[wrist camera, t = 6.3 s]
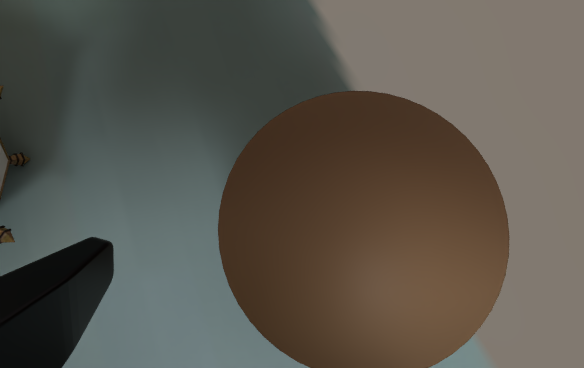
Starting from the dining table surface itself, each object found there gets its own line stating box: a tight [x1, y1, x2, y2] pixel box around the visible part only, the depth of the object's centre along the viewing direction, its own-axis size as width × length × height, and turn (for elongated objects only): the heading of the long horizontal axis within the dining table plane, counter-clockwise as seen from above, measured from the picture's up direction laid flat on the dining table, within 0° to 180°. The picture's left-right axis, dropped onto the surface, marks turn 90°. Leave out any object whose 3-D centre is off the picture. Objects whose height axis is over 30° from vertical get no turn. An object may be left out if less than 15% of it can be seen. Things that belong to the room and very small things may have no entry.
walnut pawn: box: [218, 91, 509, 368], centre depth 13 cm, size 4×4×12 cm
